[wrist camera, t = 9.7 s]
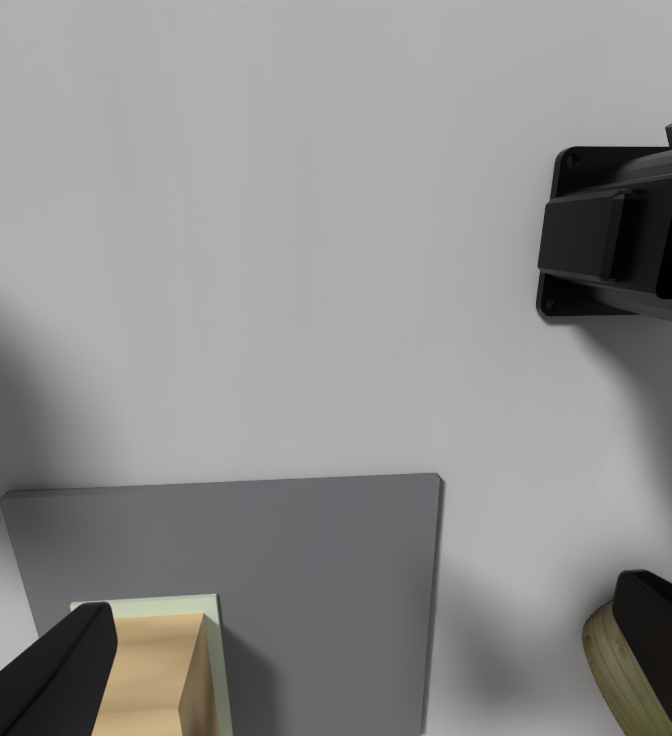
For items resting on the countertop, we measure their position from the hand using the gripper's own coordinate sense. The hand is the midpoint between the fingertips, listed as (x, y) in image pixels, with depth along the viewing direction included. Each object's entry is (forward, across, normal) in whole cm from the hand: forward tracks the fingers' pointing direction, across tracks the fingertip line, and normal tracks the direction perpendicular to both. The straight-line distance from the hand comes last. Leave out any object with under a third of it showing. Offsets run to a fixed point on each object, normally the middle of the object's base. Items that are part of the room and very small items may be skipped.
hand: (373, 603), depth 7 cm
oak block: (+11, +9, +16) cm, 22 cm away
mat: (+12, +5, +14) cm, 19 cm away
